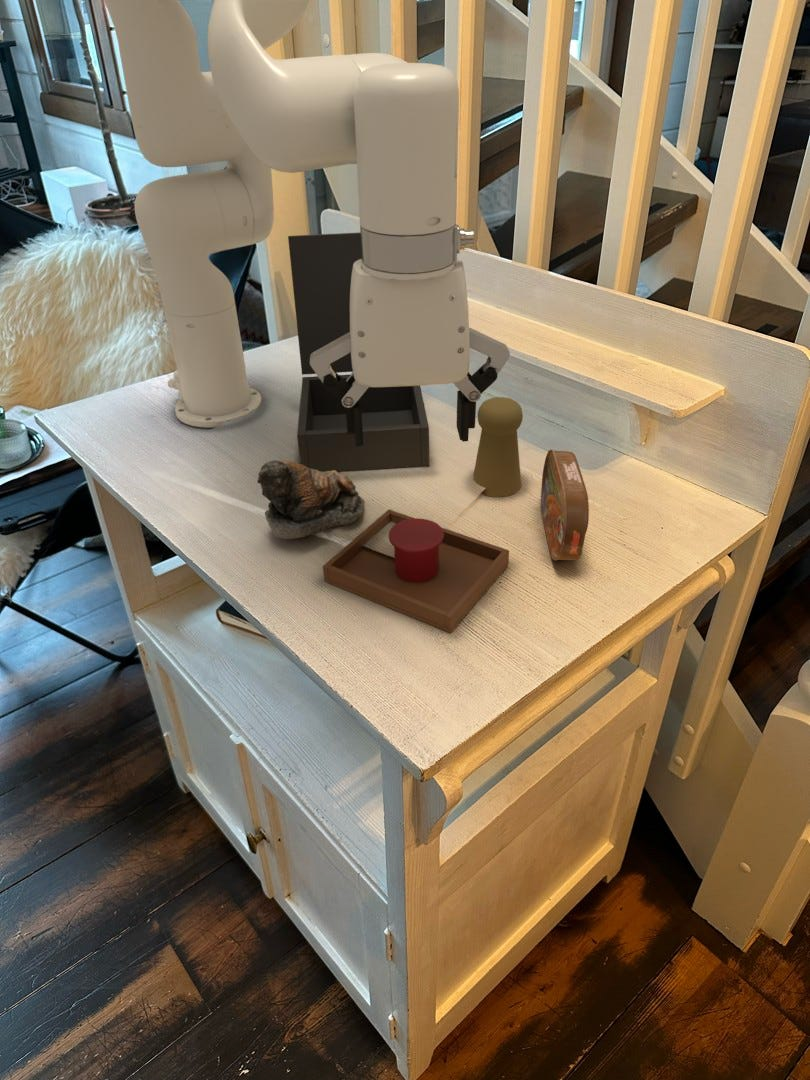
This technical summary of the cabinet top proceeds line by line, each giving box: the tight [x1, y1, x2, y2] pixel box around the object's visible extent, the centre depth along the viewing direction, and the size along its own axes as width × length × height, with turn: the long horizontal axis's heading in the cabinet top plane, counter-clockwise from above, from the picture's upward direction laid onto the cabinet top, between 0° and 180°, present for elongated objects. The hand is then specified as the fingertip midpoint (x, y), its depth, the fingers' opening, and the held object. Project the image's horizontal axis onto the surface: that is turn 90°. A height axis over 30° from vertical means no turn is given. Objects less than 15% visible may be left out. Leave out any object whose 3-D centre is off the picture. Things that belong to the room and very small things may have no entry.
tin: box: [540, 449, 590, 561], centre depth 82 cm, size 15×3×8 cm, turn 178°
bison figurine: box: [257, 460, 366, 540], centre depth 84 cm, size 12×7×10 cm, turn 124°
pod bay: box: [296, 374, 430, 473], centre depth 100 cm, size 17×16×6 cm
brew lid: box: [287, 231, 362, 376], centre depth 103 cm, size 18×16×5 cm
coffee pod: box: [388, 517, 444, 582], centre depth 78 cm, size 6×6×4 cm
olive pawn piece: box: [472, 396, 524, 498], centre depth 90 cm, size 6×6×11 cm
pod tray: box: [322, 509, 510, 634], centre depth 79 cm, size 15×12×2 cm
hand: (410, 437), depth 70 cm, fingers open, 9 cm apart
